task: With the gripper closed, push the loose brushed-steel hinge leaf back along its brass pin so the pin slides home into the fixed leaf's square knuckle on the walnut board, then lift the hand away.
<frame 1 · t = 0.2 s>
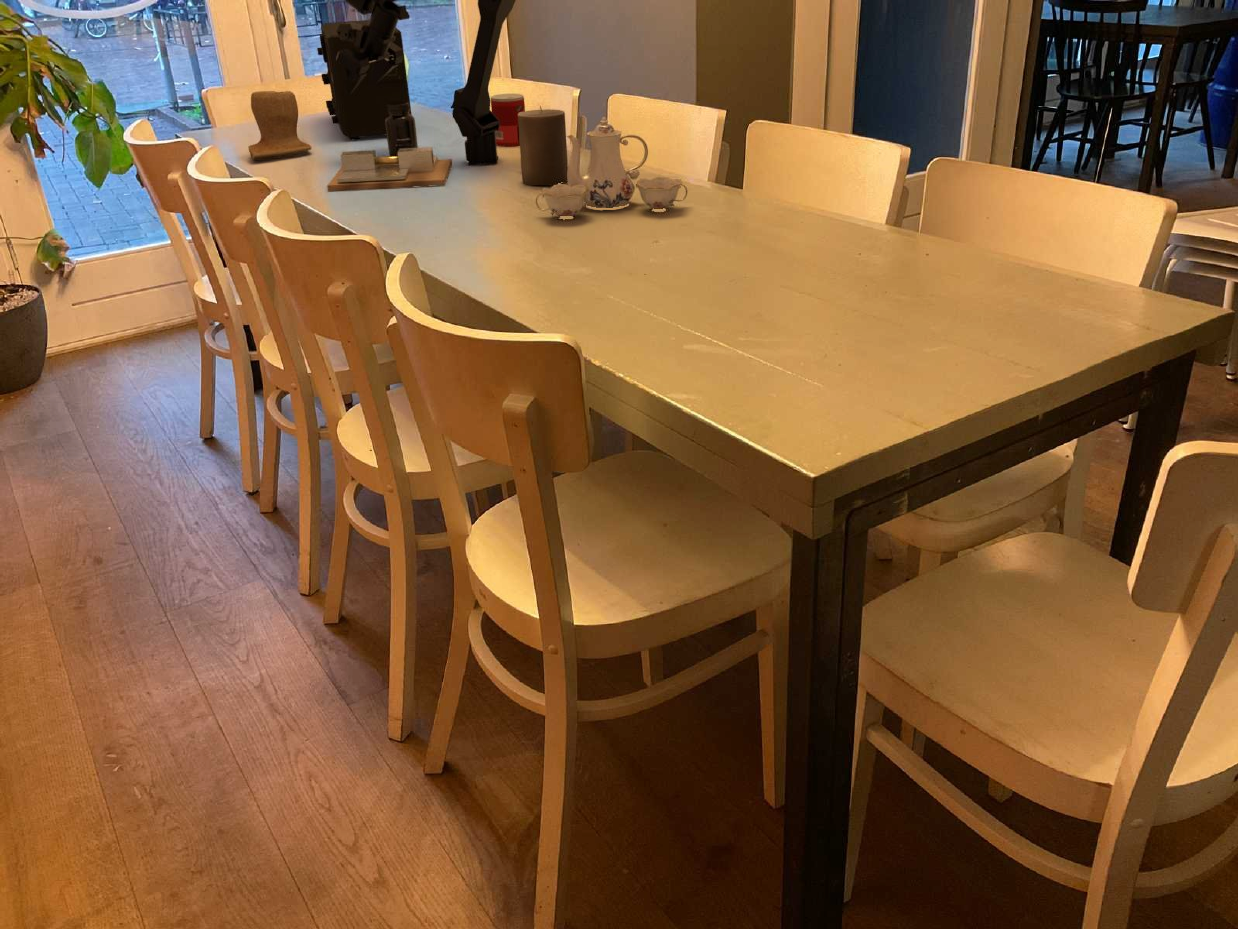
hand: (360, 88, 234), 15 cm above the table, tool tilted 30°, fingers open, 9 cm apart
fixed leaf: (402, 176, 220), resting on board
chinaware: (609, 211, 191), on the table
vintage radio: (369, 127, 273), on the table
brown chair-shaped stand: (278, 156, 244), on the table
board: (392, 177, 220), on the table
loose leaf: (373, 165, 215), point 3 cm above the table, slide at 5.0 cm
pillar candle: (545, 181, 213), on the table
supplement bottle: (404, 157, 238), on the table
canned food: (511, 144, 248), on the table
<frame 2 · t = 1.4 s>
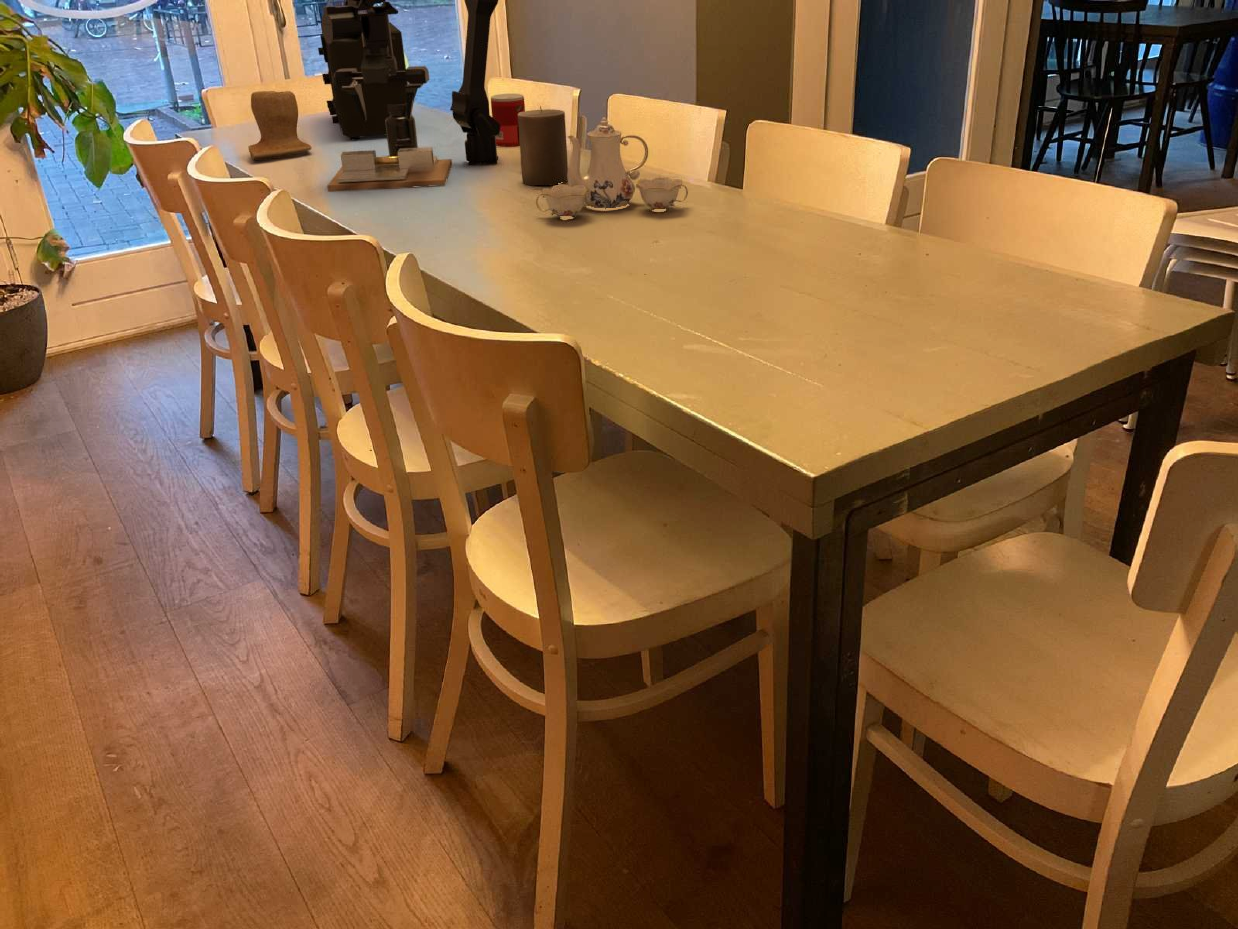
hand: (387, 119, 214), 12 cm above the table, tool pointing down, fingers open, 9 cm apart
nothing on the table moved.
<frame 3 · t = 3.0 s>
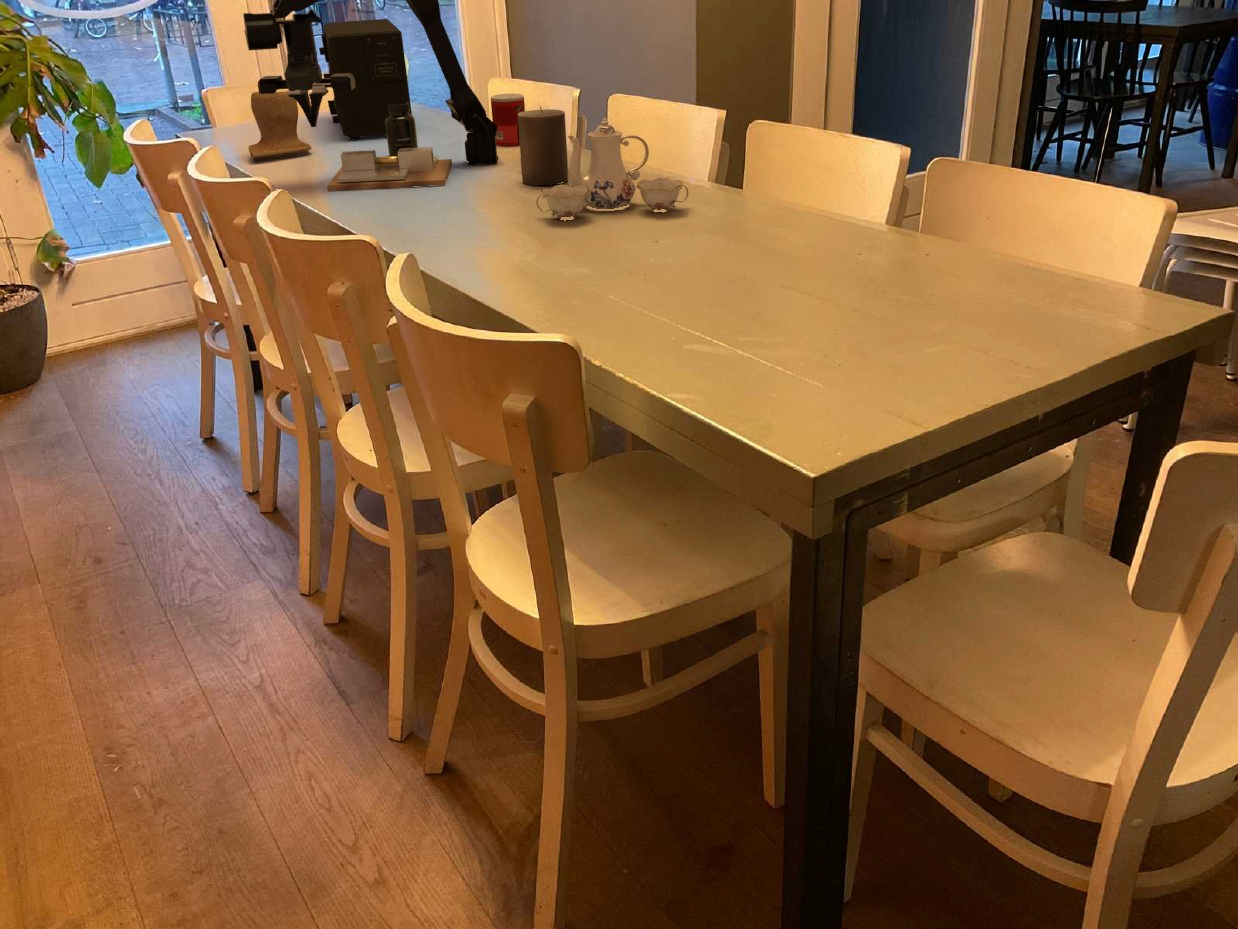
hand: (313, 126, 214), 11 cm above the table, tool pointing down, fingers closed
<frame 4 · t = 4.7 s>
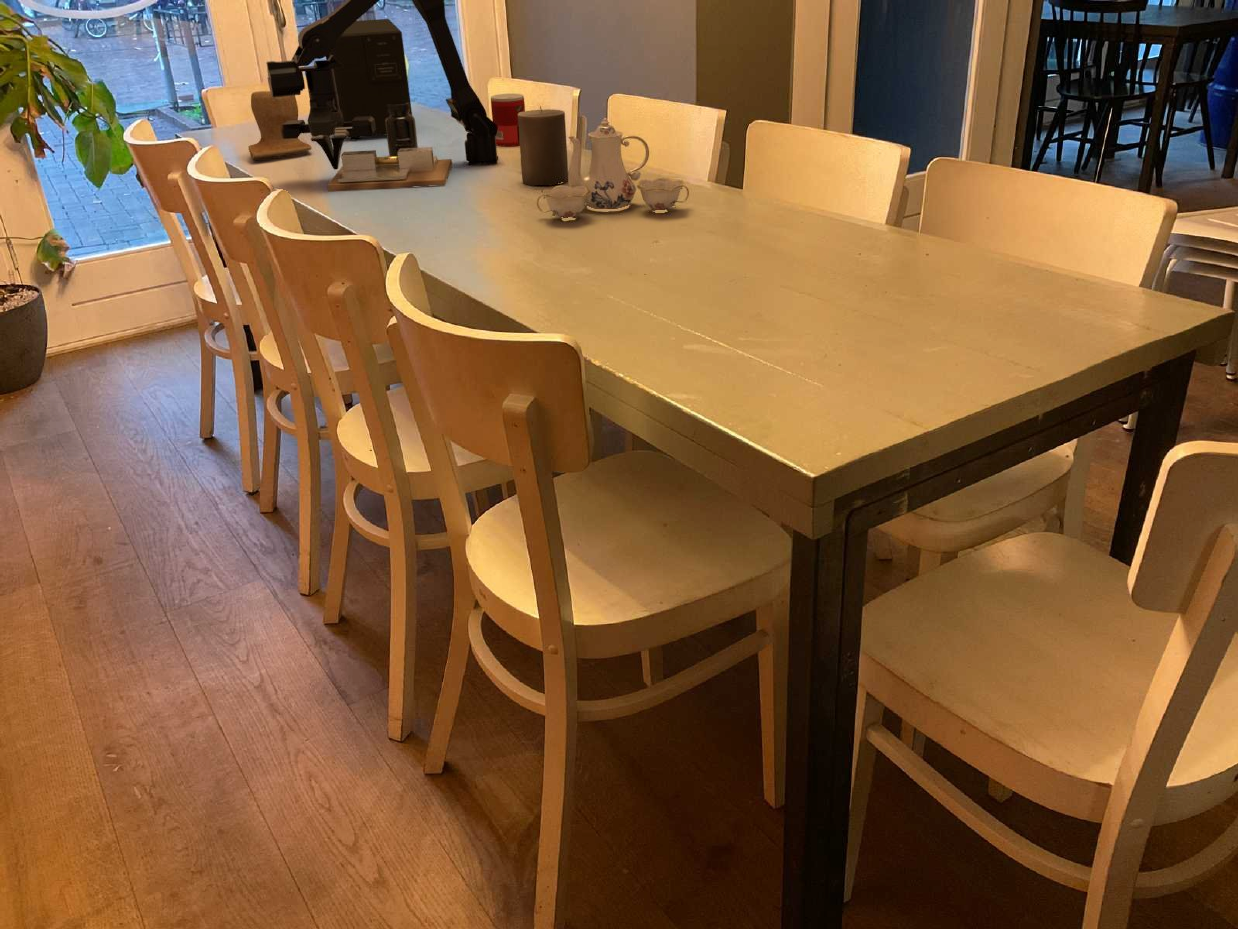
hand: (336, 168, 218), 2 cm above the table, tool pointing down, fingers closed
loose leaf: (374, 165, 215), point 4 cm above the table, slide at 4.9 cm, touching gripper
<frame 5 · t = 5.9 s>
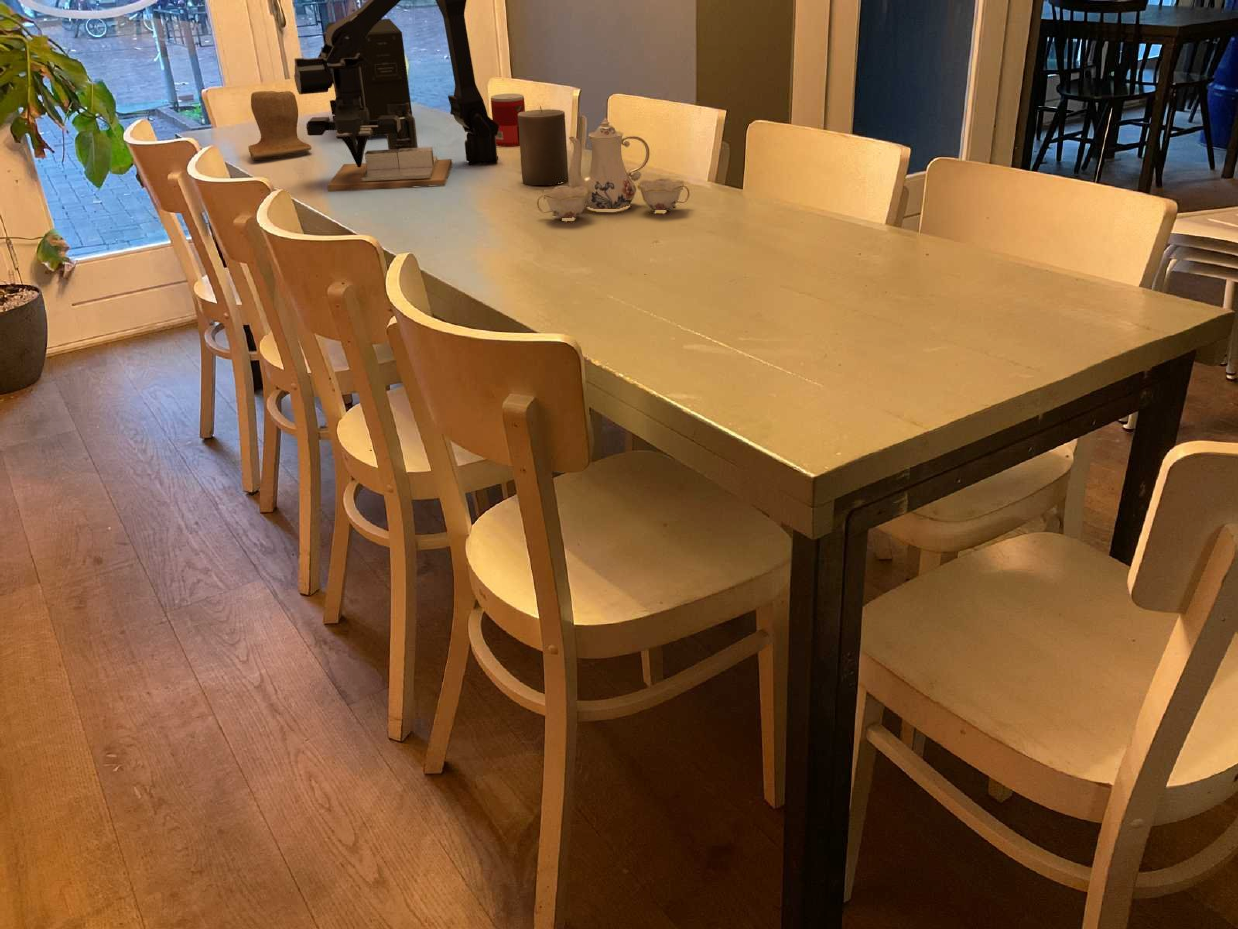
hand: (359, 166, 218), 3 cm above the table, tool pointing down, fingers closed
loose leaf: (398, 163, 215), point 3 cm above the table, slide at -0.1 cm, touching gripper
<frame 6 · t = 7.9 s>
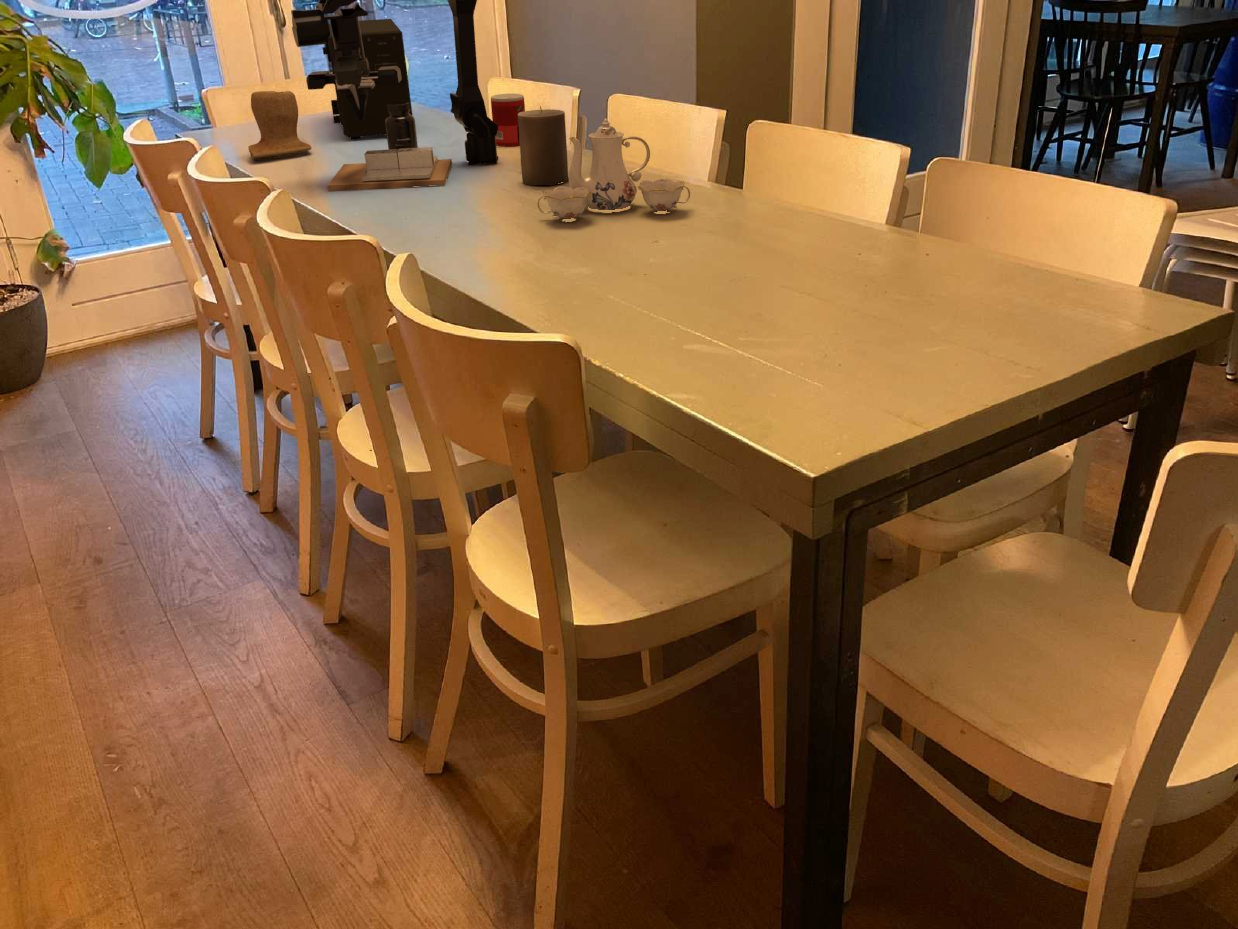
hand: (361, 120, 216), 12 cm above the table, tool pointing down, fingers closed
loose leaf: (397, 163, 215), point 3 cm above the table, slide at 0.0 cm
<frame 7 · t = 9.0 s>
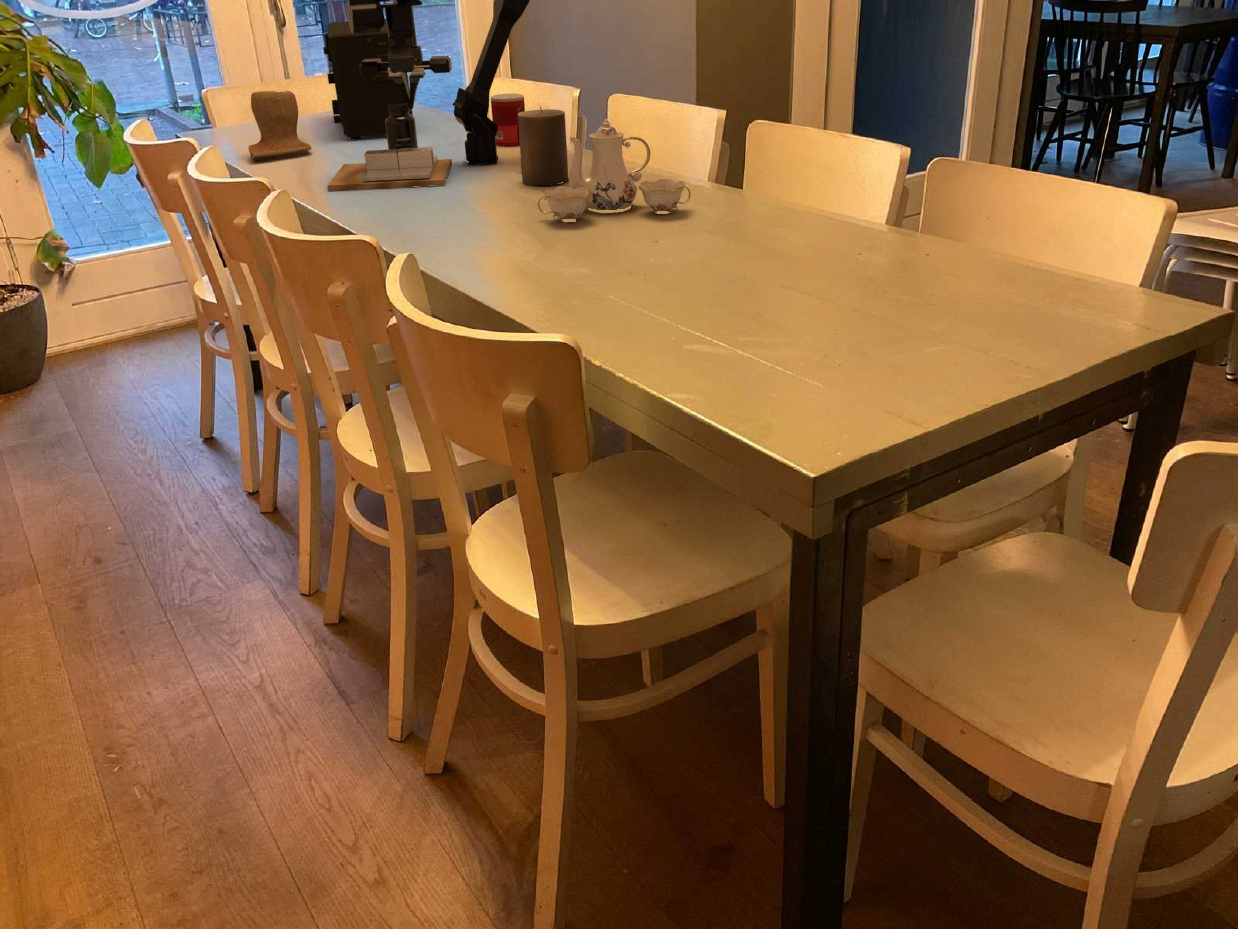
hand: (411, 108, 219), 13 cm above the table, tool pointing down, fingers closed
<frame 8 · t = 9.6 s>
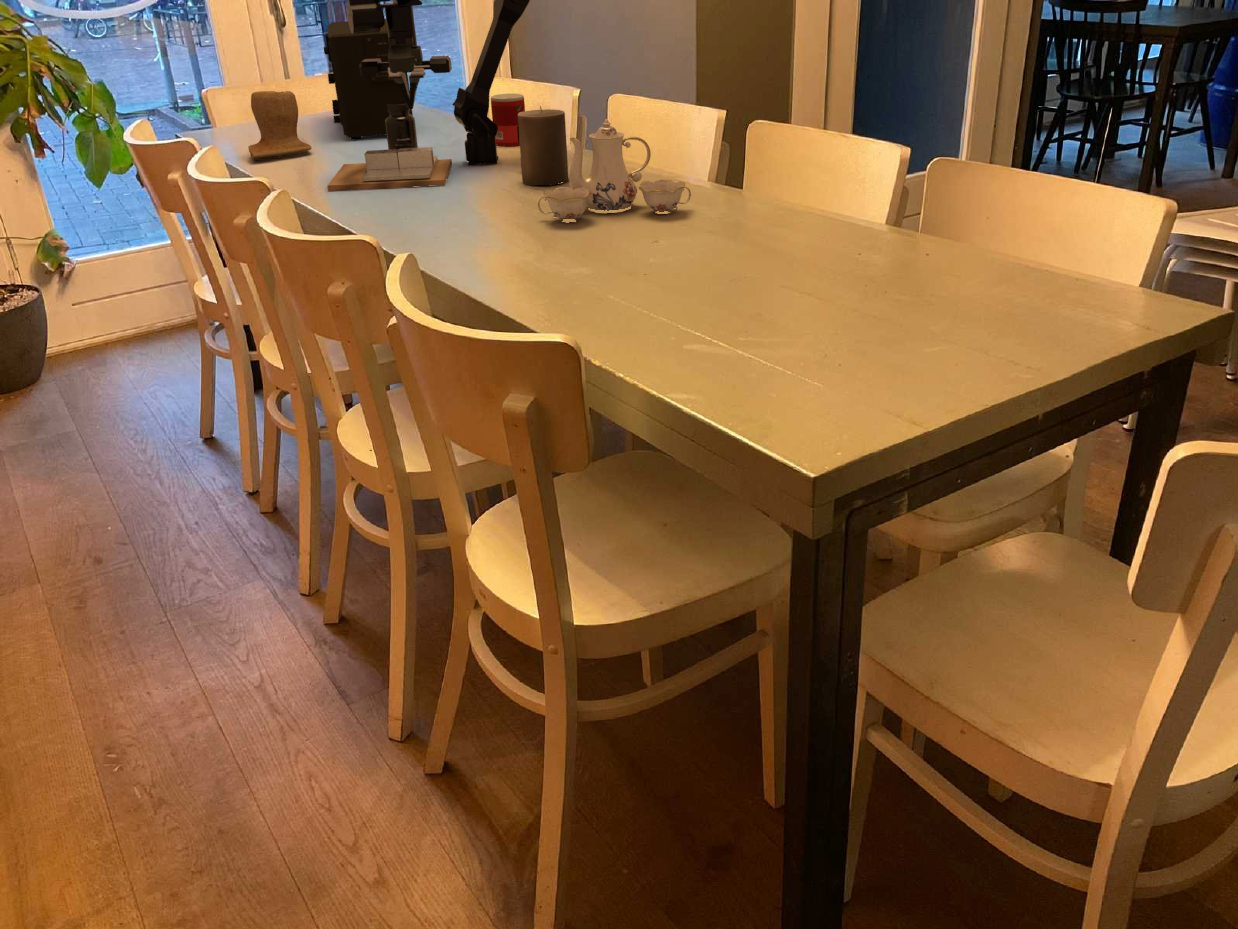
hand: (411, 108, 219), 13 cm above the table, tool pointing down, fingers closed
at the end: loose leaf slide at 0.0 cm; the gripper is holding nothing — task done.
